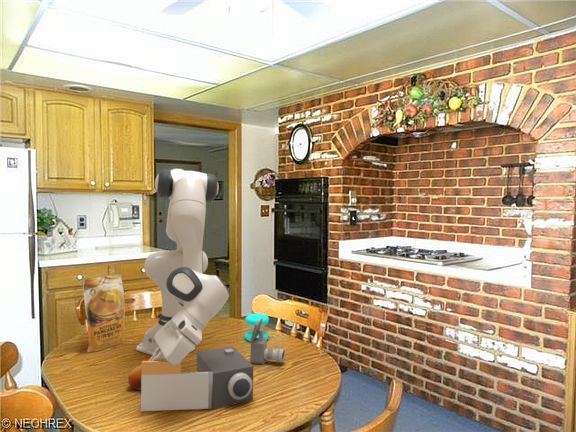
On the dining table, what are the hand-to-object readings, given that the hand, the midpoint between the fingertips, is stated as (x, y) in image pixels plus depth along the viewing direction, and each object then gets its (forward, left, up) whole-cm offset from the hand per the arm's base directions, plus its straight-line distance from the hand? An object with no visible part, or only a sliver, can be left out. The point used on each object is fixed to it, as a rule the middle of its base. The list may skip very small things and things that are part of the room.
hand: (150, 364), depth 111 cm
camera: (+19, +41, -13) cm, 47 cm away
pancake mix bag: (-47, +34, -13) cm, 59 cm away
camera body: (+15, +15, -12) cm, 25 cm away
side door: (+8, +1, -12) cm, 14 cm away
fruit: (-11, +10, -13) cm, 20 cm away
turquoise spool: (+6, +63, -13) cm, 65 cm away
